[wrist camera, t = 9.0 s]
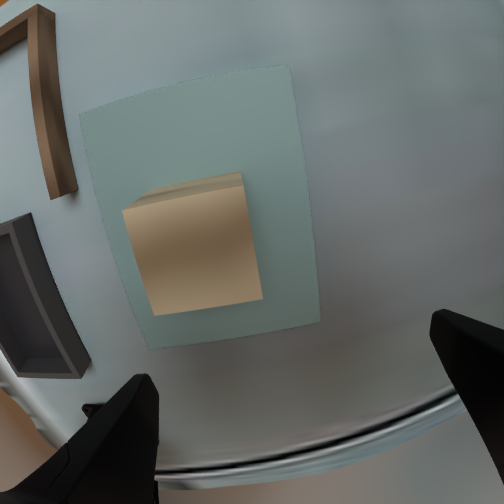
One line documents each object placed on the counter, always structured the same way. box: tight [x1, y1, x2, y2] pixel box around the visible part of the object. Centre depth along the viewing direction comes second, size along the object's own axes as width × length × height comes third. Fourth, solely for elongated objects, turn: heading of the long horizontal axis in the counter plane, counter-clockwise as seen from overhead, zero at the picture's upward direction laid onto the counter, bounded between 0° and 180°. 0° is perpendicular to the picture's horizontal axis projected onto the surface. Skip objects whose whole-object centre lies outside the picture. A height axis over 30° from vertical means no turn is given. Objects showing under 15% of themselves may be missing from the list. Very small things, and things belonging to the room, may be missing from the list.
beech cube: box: [122, 171, 263, 316], centre depth 15 cm, size 5×5×5 cm
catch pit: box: [0, 213, 91, 379], centre depth 19 cm, size 13×8×2 cm, turn 10°
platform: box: [79, 65, 321, 349], centre depth 18 cm, size 16×12×2 cm
